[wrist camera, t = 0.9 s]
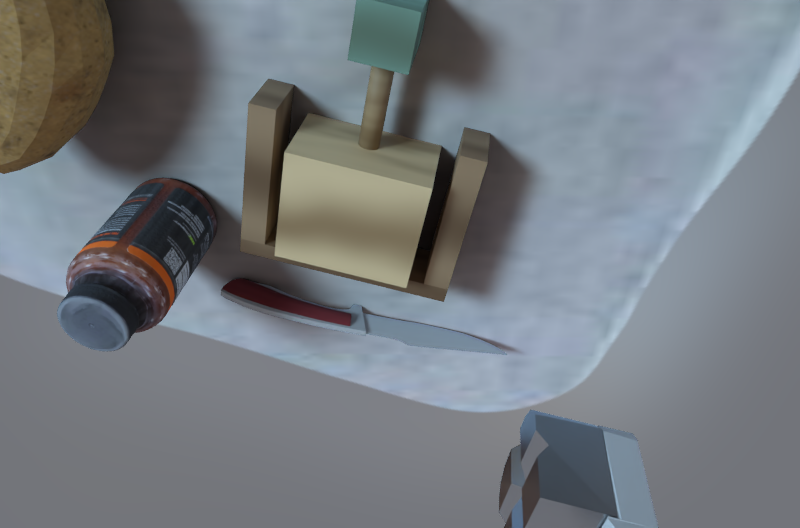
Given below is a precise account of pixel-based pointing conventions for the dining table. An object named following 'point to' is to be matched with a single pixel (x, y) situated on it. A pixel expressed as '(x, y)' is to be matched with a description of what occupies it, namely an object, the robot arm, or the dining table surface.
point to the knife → (349, 319)
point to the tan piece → (264, 188)
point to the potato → (49, 74)
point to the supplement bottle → (136, 264)
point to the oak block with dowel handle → (361, 165)
